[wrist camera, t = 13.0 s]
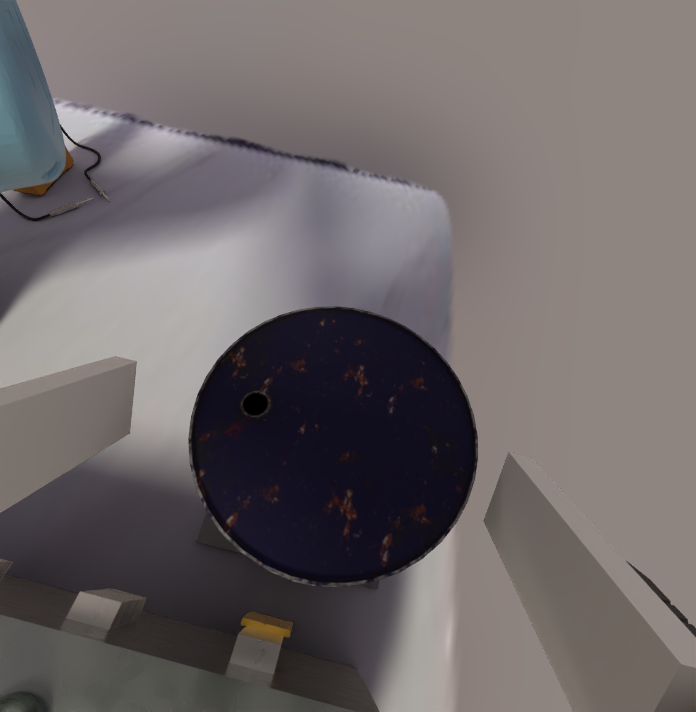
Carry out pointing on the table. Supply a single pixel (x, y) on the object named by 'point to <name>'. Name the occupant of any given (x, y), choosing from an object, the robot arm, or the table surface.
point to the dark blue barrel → (333, 446)
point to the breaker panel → (154, 657)
